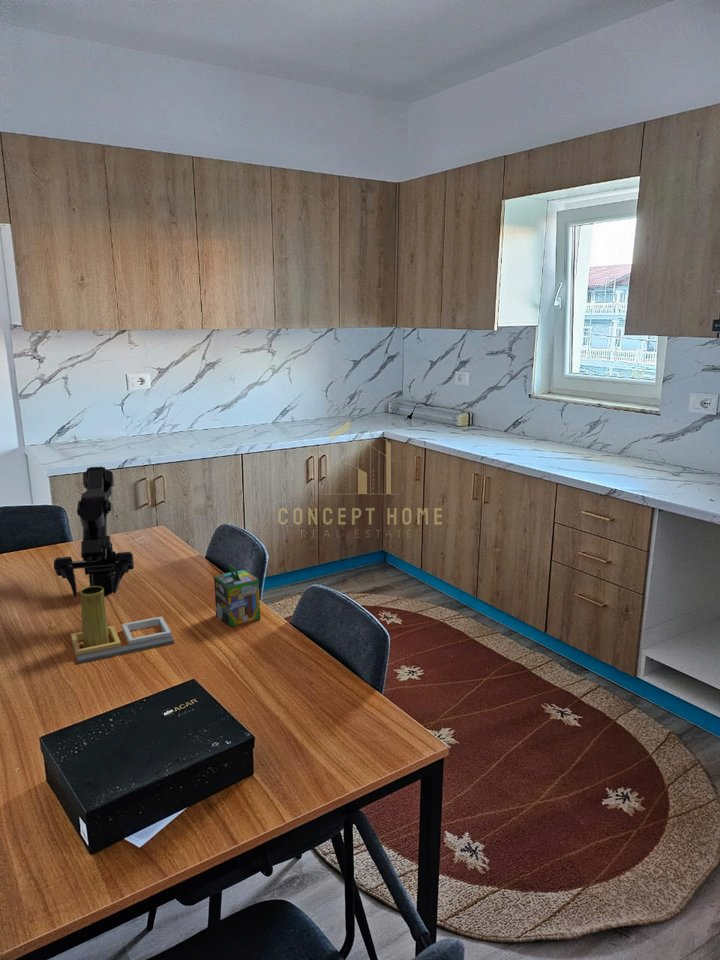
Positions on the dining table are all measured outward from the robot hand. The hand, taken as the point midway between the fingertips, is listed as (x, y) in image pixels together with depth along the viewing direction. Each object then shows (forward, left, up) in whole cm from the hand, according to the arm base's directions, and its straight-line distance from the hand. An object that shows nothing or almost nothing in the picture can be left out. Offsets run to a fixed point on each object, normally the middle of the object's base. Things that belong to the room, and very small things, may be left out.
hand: (95, 594), depth 171 cm
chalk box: (+31, +16, -10) cm, 36 cm away
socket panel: (+10, -4, -9) cm, 14 cm away
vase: (+4, -7, -10) cm, 13 cm away
